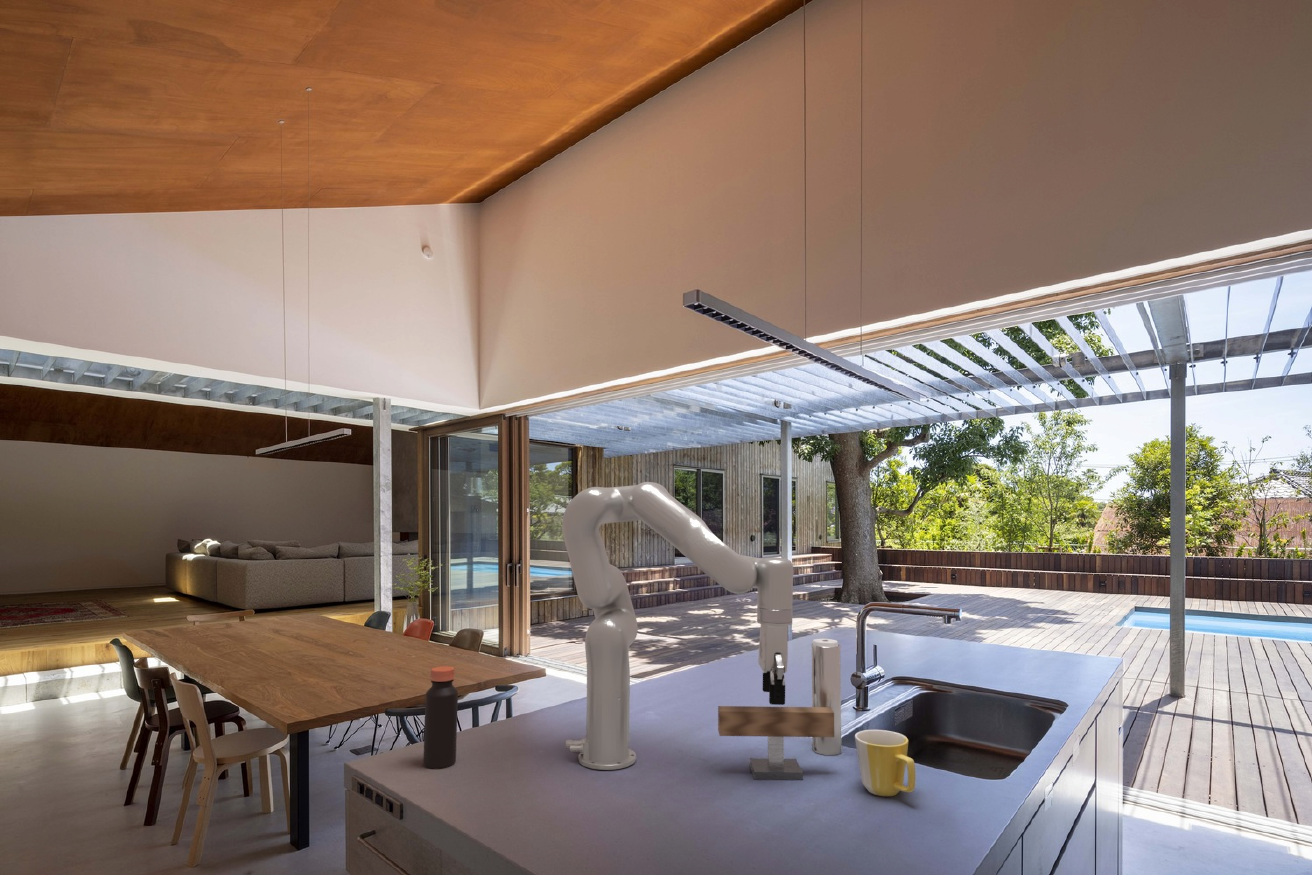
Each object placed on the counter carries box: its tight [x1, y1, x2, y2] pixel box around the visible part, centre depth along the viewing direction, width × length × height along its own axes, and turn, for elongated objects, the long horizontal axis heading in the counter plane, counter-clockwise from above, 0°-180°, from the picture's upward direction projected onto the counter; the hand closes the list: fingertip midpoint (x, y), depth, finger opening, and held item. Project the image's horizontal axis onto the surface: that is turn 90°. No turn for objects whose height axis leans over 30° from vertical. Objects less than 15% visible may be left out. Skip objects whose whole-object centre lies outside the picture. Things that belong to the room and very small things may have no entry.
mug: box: [854, 729, 916, 797], centre depth 145 cm, size 14×10×10 cm
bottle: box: [422, 665, 459, 770], centre depth 160 cm, size 7×7×20 cm
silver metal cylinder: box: [811, 638, 842, 756], centre depth 170 cm, size 6×6×25 cm
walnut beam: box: [717, 705, 834, 738], centre depth 156 cm, size 24×4×5 cm, turn 90°
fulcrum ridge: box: [749, 736, 804, 781], centre depth 156 cm, size 10×8×8 cm
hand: (773, 697), depth 157 cm, fingers open, 9 cm apart
